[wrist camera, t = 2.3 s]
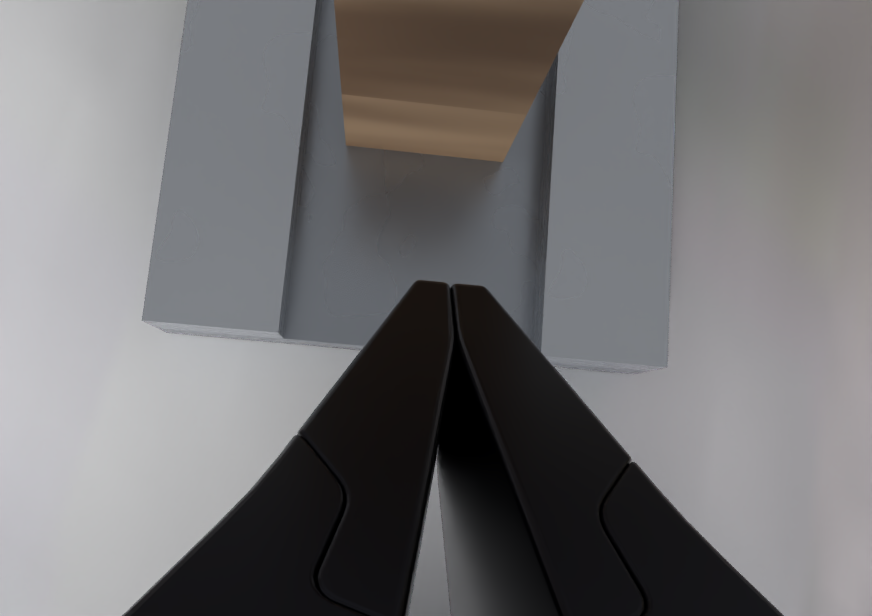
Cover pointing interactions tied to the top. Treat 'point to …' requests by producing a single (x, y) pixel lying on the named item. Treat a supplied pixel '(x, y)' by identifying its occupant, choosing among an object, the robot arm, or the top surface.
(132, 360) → the top surface
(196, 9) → the slot bed
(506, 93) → the brown block
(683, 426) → the top surface
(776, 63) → the top surface
